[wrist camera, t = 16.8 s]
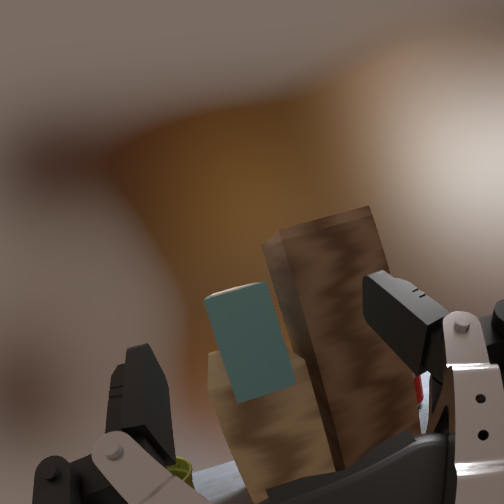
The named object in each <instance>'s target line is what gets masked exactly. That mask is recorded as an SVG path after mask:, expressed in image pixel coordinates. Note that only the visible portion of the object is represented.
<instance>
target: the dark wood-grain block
mask: <svg viewBox="0 0 504 504" xmlns="http://www.w3.org/2000/svg"><path fill="white" fill-rule="evenodd" d="M262 249H263V252H264V256H265V259H266V262H267V265H268V269H269V272H270V275H271V279H272V282H273V285H274V289H275V292H276V295H277V298H278V302H279V305H280V309H281V312H282V315H283V319H284V322H285V325H286V329H287V332H288V336H289V339H290V342H291V346H292V349H293V352H294V353H295V354H297V355H298V356H300V357H301V358H303V359H304V360H305V362H306V366H307V369H308V373H309V376H310V380H311V384H312V387H313V391H314V394H315V398H316V401H317V405H318V408H319V412H320V416H321V419H322V423H323V426H324V430H325V434H326V437H327V441H328V445H329V448H330V452H331V456H332V460H333V463H334V467H335V471H341V470H344V469H347V468H348V467H350V466H351V465H352V464H353V463H355V462H356V461H357V460H359V459H360V458H361V457H362V456H364V455H365V454H366V453H367V452H369V451H370V450H371V449H372V448H374V447H375V446H376V445H378V444H380V443H382V442H384V441H385V440H387V439H389V438H391V437H393V436H395V435H397V434H398V433H400V432H402V431H404V430H405V429H408V431H409V432H410V433H411V435H412V436H414V435H419V434H421V429H420V420H419V412H418V405H417V398H416V391H415V385H414V378H413V373H412V370H411V369H410V368H409V367H408V366H407V365H406V364H405V363H404V362H403V361H402V360H401V359H400V358H399V357H398V355H397V354H396V353H395V352H394V351H393V350H392V349H391V348H390V347H389V346H388V345H387V344H386V343H385V342H384V341H383V340H382V339H381V338H380V336H379V335H378V334H377V333H376V332H375V331H374V330H373V329H372V328H371V327H370V326H369V325H368V324H367V322H366V320H365V318H364V315H363V295H362V280H363V277H364V276H366V275H368V274H371V273H374V272H377V271H379V270H384V271H385V272H387V273H388V274H389V275H390V271H389V268H388V264H387V261H386V257H385V254H384V250H383V248H382V244H381V241H380V237H379V234H378V231H377V228H376V225H375V222H374V219H373V216H372V213H371V210H370V207H369V206H366V207H362V208H358V209H354V210H351V211H347V212H343V213H339V214H336V215H332V216H328V217H324V218H321V219H317V220H313V221H310V222H306V223H302V224H299V225H295V226H291V227H288V228H284V229H280V230H278V231H277V232H276V233H275V234H274V235H273V236H272V237H271V238H270V239H268V240H267V241H266V242H265V243H264V244H263V245H262Z"/></svg>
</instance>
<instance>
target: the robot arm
mask: <svg viewBox="0 0 504 504" xmlns="http://www.w3.org/2000/svg"><path fill="white" fill-rule="evenodd" d="M362 295H363V315H364V318H365V320H366V322H367V324H368V325H369V326H370V327H371V328H372V329H373V330H374V331H375V332H376V333H377V334H378V335H379V336H380V338H381V339H382V340H383V341H384V342H385V343H386V344H387V345H388V346H389V347H390V348H391V349H392V350H393V351H394V352H395V353H396V354H397V355H398V357H399V358H400V359H401V360H402V361H403V362H404V363H405V364H406V365H407V366H408V367H409V368H410V369H411V370H412V372H413V373H414V374H415V375H416V376H419V375H421V374H423V373H424V372H426V371H429V372H430V373H431V375H430V380H429V419H428V426H427V430H426V434H419V435H414V436H412V435H411V433H410V432H409V431H408V429H405V430H404V431H402V432H400V433H398V434H397V435H395V436H393V437H391V438H389V439H387V440H385V441H384V442H382V443H380V444H378V445H376V446H375V447H374V448H372V449H371V450H370V451H369V452H367V453H366V454H365V455H364V456H362V457H361V458H360V459H359V460H357V461H356V462H355V463H353V464H352V465H351V466H350V467H348V468H347V469H344V470H341V471H336V472H331V473H325V474H319V475H313V476H306V477H302V478H299V479H296V480H293V481H290V482H287V483H284V484H281V485H278V486H275V487H272V488H268V489H265V490H266V492H267V495H268V498H267V499H265V500H263V501H261V502H260V503H259V504H504V300H500V301H499V302H497V303H496V305H495V308H494V311H493V315H489V316H485V317H482V318H477V317H475V316H474V315H472V314H470V313H468V312H463V311H457V312H452V313H450V312H449V311H447V310H446V309H445V308H443V307H442V306H441V305H440V304H438V303H437V302H436V301H434V300H433V299H432V298H430V297H429V296H428V295H425V293H424V292H422V291H421V290H418V288H417V287H415V286H414V285H413V284H411V283H410V282H408V281H405V280H402V279H399V278H393V277H392V276H391V275H389V274H388V273H387V272H385V271H384V270H379V271H377V272H374V273H371V274H368V275H366V276H364V277H363V280H362ZM175 464H176V456H175V448H174V440H173V430H172V420H171V410H170V398H169V388H168V384H167V380H166V377H165V375H164V373H163V371H162V369H161V367H160V365H159V363H158V361H157V359H156V357H155V355H154V353H153V351H152V349H151V347H150V346H149V344H147V343H146V344H142V345H138V346H134V347H130V348H127V351H126V360H125V364H121V365H118V366H117V367H116V369H115V371H114V373H113V374H112V376H111V382H110V391H109V400H108V408H107V419H106V432H105V434H104V435H103V436H101V437H100V438H99V439H98V440H97V441H96V442H95V444H94V446H93V448H92V454H90V455H88V456H86V457H84V458H81V459H78V460H76V461H74V462H71V463H69V462H67V461H66V460H65V459H64V458H63V457H60V456H50V457H47V458H45V459H44V460H42V461H41V463H40V464H39V465H38V467H37V469H36V471H35V477H34V487H33V488H34V489H33V501H32V504H213V503H212V502H210V501H209V500H208V499H206V498H205V497H204V496H202V495H201V494H199V493H198V492H197V491H195V490H194V489H193V488H191V487H190V486H189V485H188V484H186V483H185V482H184V481H183V480H181V479H180V478H179V477H177V476H176V475H173V474H171V473H170V472H169V471H168V470H167V467H166V466H170V465H175Z"/></svg>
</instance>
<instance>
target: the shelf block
mask: <svg viewBox="0 0 504 504" xmlns="http://www.w3.org/2000/svg"><path fill="white" fill-rule="evenodd" d="M286 349H287V352H288V356H289V359H290V362H291V366H292V369H293V373H294V376H295V379H296V383H297V384H296V385H293V386H290V387H287V388H285V389H282V390H279V391H276V392H273V393H270V394H267V395H264V396H261V397H258V398H254V399H251V400H248V401H245V402H241V403H238V404H237V401H236V398H235V395H234V392H233V389H232V386H231V384H230V381H229V378H228V375H227V372H226V369H225V366H224V363H223V360H222V357H221V354H220V351H219V350H218V351H215V352H212V353H209V361H208V362H209V363H208V390H207V391H208V394H209V397H210V399H211V402H212V405H213V408H214V410H215V413H216V415H217V418H218V421H219V423H220V426H221V428H222V431H223V433H224V436H225V438H226V441H227V443H228V446H229V448H230V451H231V453H232V456H233V458H234V460H235V463H236V465H237V467H238V470H239V472H240V474H241V477H242V479H243V481H244V483H245V486H246V488H247V490H248V492H249V495H250V497H251V499H252V501H253V503H254V504H259V503H260V502H261V501H263V500H265V499H267V498H268V495H267V492H266V490H265V489H268V488H272V487H275V486H278V485H281V484H284V483H287V482H290V481H293V480H296V479H299V478H302V477H306V476H313V475H319V474H325V473H331V472H336V471H335V467H334V463H333V460H332V456H331V452H330V448H329V445H328V441H327V437H326V434H325V430H324V426H323V423H322V419H321V416H320V412H319V408H318V405H317V401H316V398H315V394H314V391H313V387H312V384H311V380H310V376H309V373H308V369H307V366H306V362H305V360H304V359H303V358H301V357H300V356H298V355H297V354H295V353H294V352H292V351H291V350H289V349H288V348H287V347H286Z"/></svg>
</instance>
